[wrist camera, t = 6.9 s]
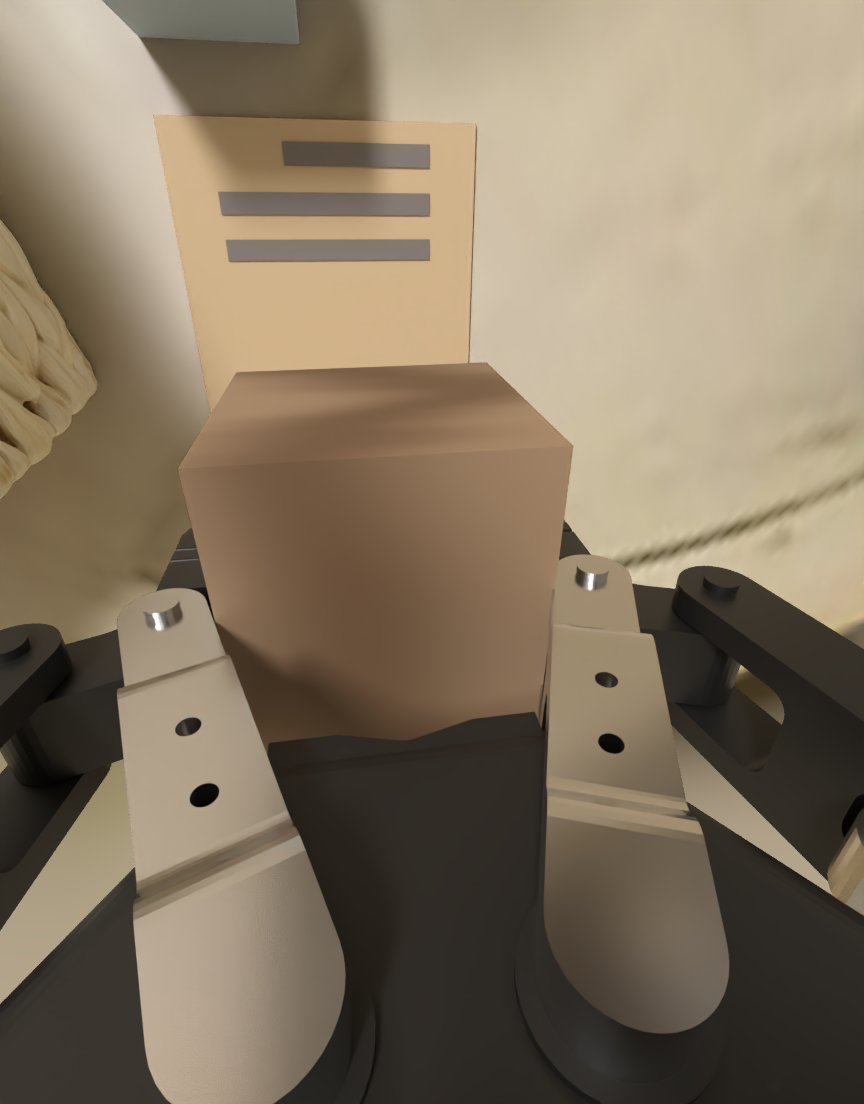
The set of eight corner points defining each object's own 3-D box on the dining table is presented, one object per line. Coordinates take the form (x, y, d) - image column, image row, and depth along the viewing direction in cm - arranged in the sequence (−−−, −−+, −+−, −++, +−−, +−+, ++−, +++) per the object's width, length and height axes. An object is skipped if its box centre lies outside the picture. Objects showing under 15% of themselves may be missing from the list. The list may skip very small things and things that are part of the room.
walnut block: (486, 362, 12) (572, 445, 8) (475, 631, 15) (530, 791, 11) (236, 372, 11) (177, 468, 7) (284, 650, 15) (264, 827, 11)
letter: (475, 124, 21) (476, 123, 21) (463, 502, 28) (463, 503, 28) (154, 115, 19) (152, 114, 19) (231, 517, 27) (230, 519, 27)
